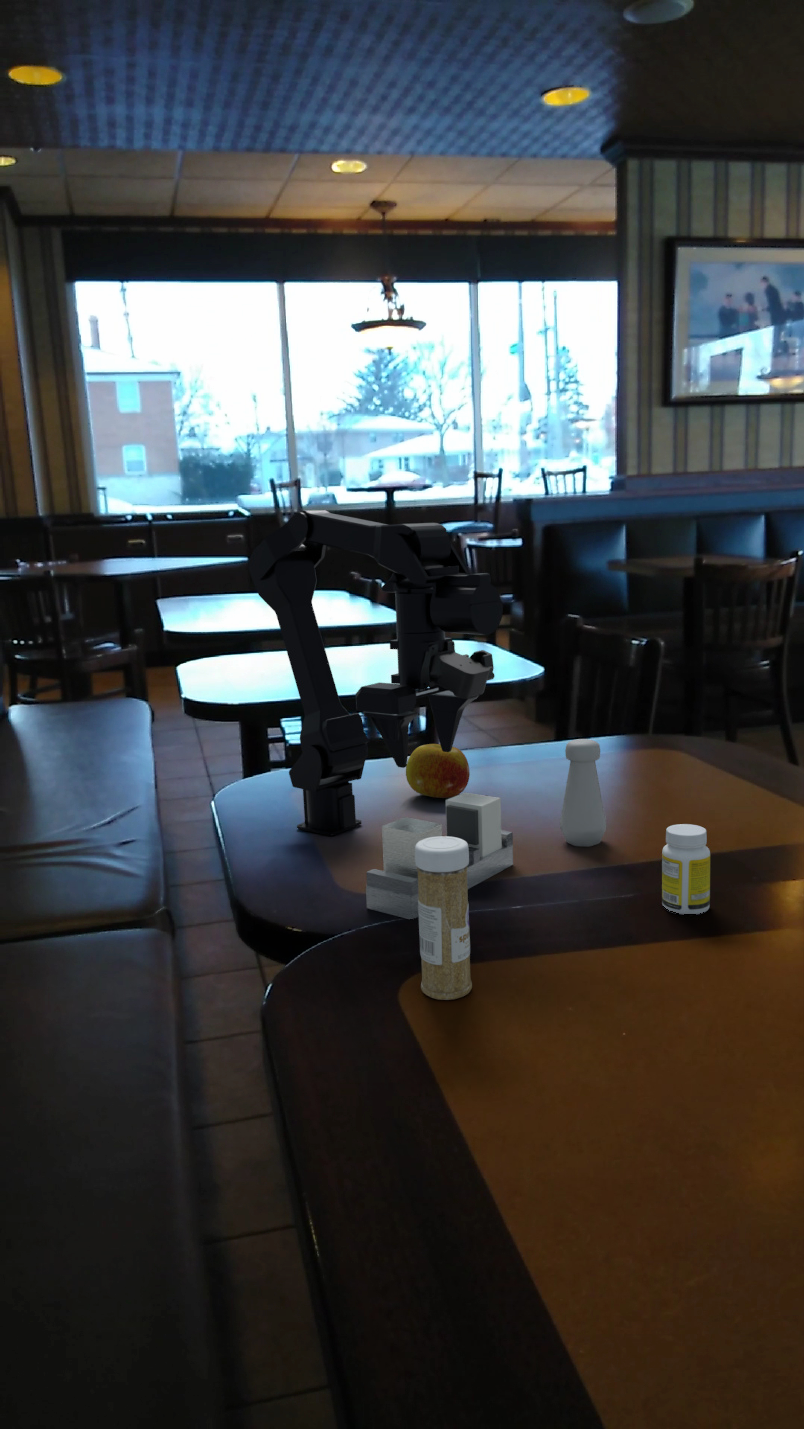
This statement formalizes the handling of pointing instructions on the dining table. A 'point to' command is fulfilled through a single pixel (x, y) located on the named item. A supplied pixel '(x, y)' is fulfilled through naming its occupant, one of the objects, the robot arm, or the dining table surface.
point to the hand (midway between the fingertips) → (424, 759)
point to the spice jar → (443, 916)
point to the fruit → (437, 771)
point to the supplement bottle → (686, 870)
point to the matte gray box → (475, 821)
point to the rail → (412, 903)
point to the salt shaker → (583, 796)
